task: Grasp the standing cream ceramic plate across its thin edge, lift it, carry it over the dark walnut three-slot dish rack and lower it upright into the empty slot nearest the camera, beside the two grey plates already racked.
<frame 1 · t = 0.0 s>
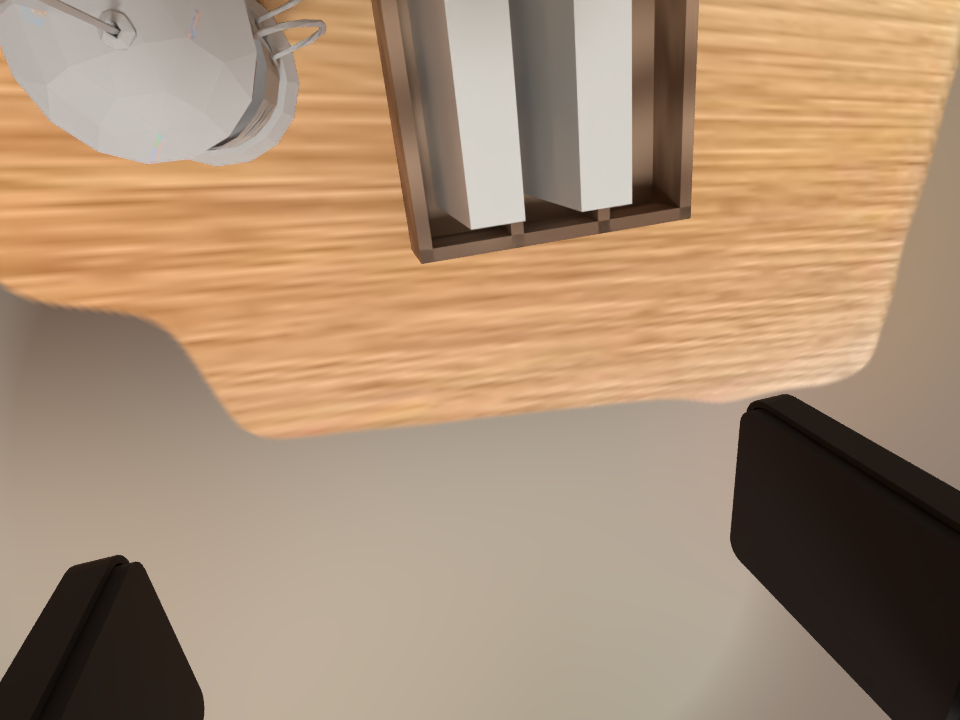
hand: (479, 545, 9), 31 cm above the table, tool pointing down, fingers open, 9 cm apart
racked plate mid: (564, 85, 31), in the rack, point 6 cm above the table
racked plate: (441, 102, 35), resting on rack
rack: (528, 92, 36), on the table
french press: (223, 69, 32), on the table
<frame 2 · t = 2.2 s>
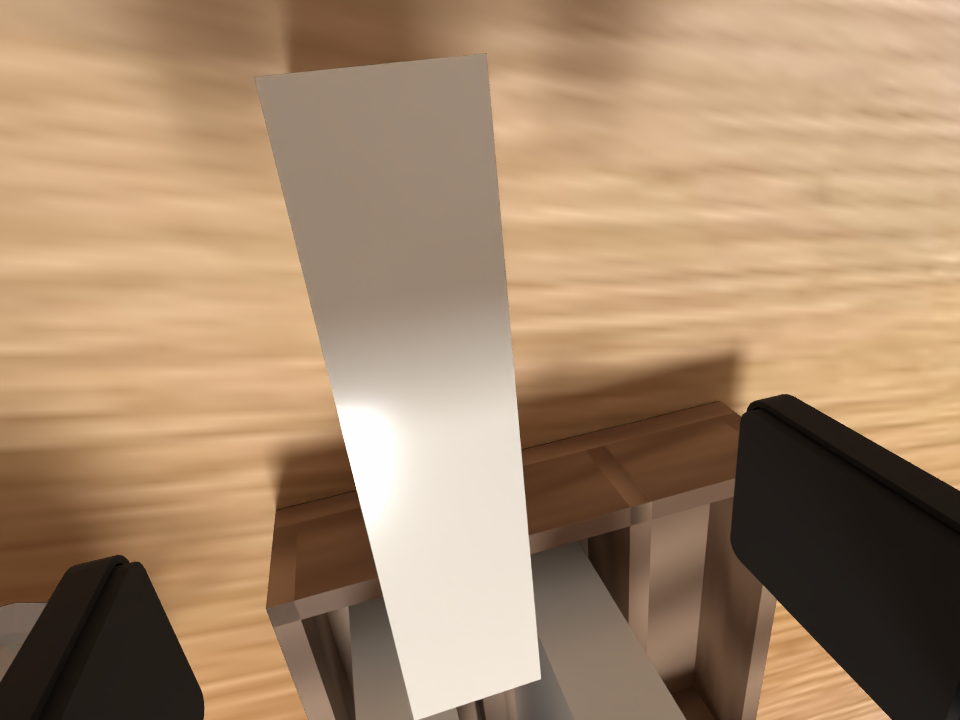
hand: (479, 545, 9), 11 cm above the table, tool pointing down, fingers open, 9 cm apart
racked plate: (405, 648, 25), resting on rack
rack: (530, 610, 26), on the table
plate: (380, 295, 18), on the table
french press: (73, 686, 21), on the table
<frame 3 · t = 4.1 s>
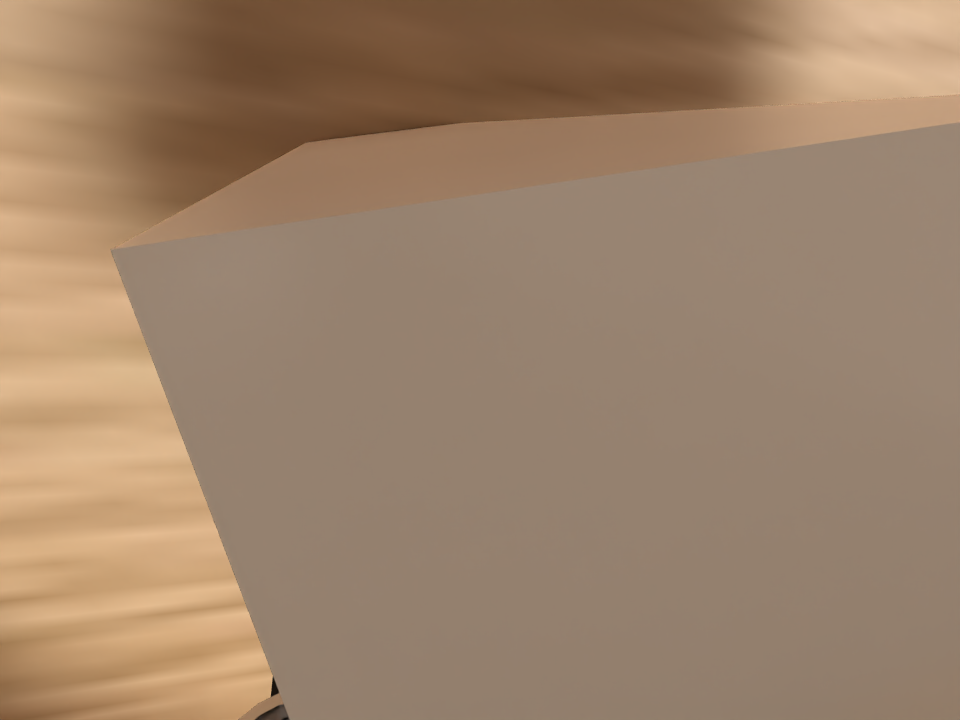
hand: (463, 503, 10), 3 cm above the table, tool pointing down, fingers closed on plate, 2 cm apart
plate: (432, 417, 13), on the table, touching gripper
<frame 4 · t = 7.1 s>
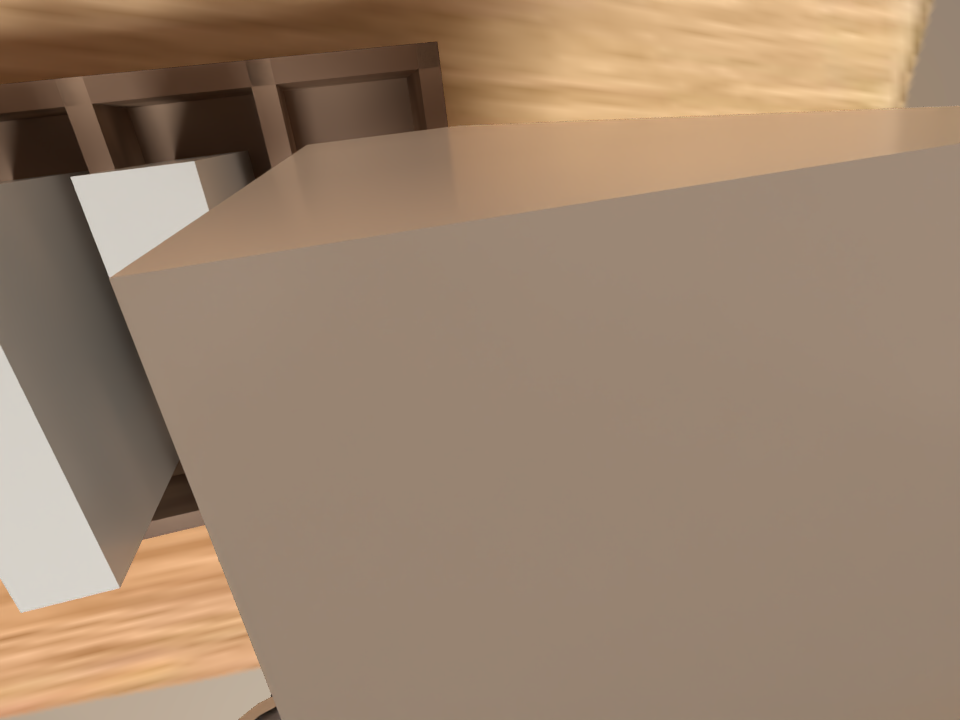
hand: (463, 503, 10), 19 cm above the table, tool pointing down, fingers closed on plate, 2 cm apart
racked plate mid: (235, 332, 20), in the rack, point 6 cm above the table
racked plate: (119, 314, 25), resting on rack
rack: (255, 291, 26), on the table
plate: (433, 420, 13), point 16 cm above the table, touching gripper
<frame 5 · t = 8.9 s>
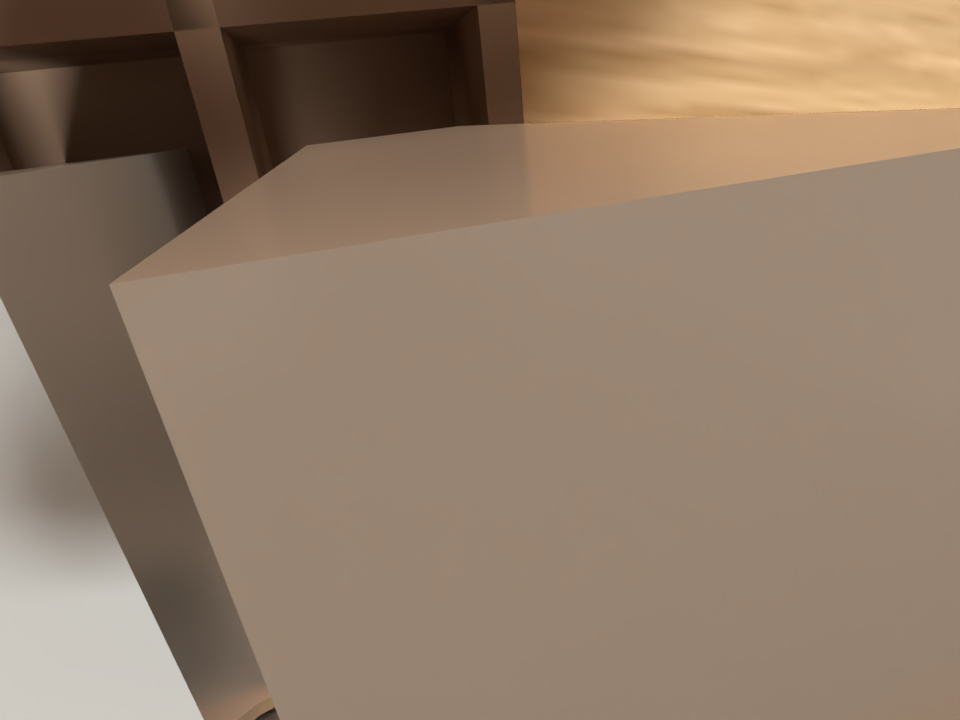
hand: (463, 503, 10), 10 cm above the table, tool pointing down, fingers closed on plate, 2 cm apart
racked plate mid: (156, 467, 12), in the rack, point 6 cm above the table
rack: (209, 361, 17), on the table
plate: (433, 421, 13), point 6 cm above the table, touching gripper
when the fingers open (6 cm above the table, at t = 10.2 s): plate drops 2 cm, resting on rack.
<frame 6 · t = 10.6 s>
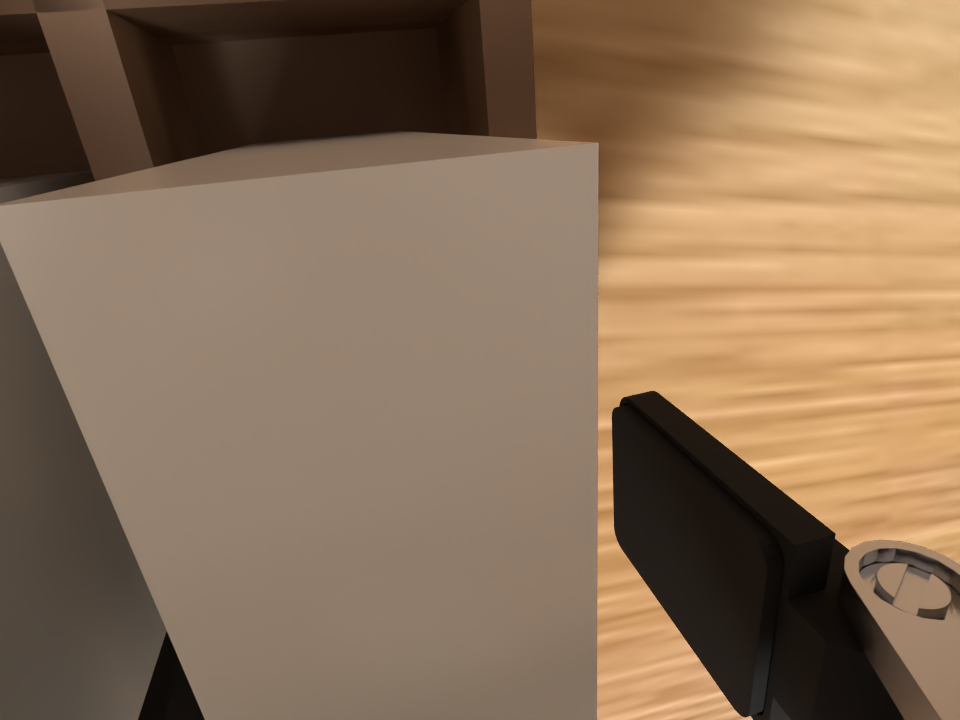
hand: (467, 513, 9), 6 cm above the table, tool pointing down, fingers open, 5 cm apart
racked plate mid: (20, 616, 8), in the rack, point 6 cm above the table
rack: (138, 427, 14), on the table
plate: (371, 394, 14), point 1 cm above the table, touching rack
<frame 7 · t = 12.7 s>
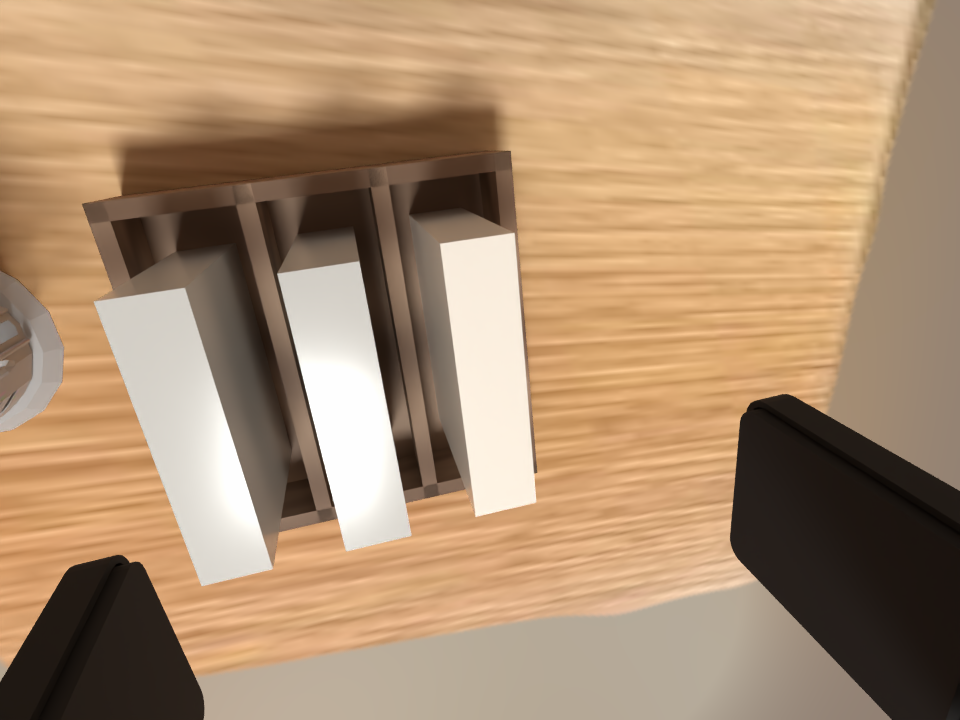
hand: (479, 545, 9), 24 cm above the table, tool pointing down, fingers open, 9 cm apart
racked plate mid: (350, 372, 26), in the rack, point 6 cm above the table
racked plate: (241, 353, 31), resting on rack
rack: (348, 334, 32), on the table
plate: (449, 319, 32), point 1 cm above the table, touching rack
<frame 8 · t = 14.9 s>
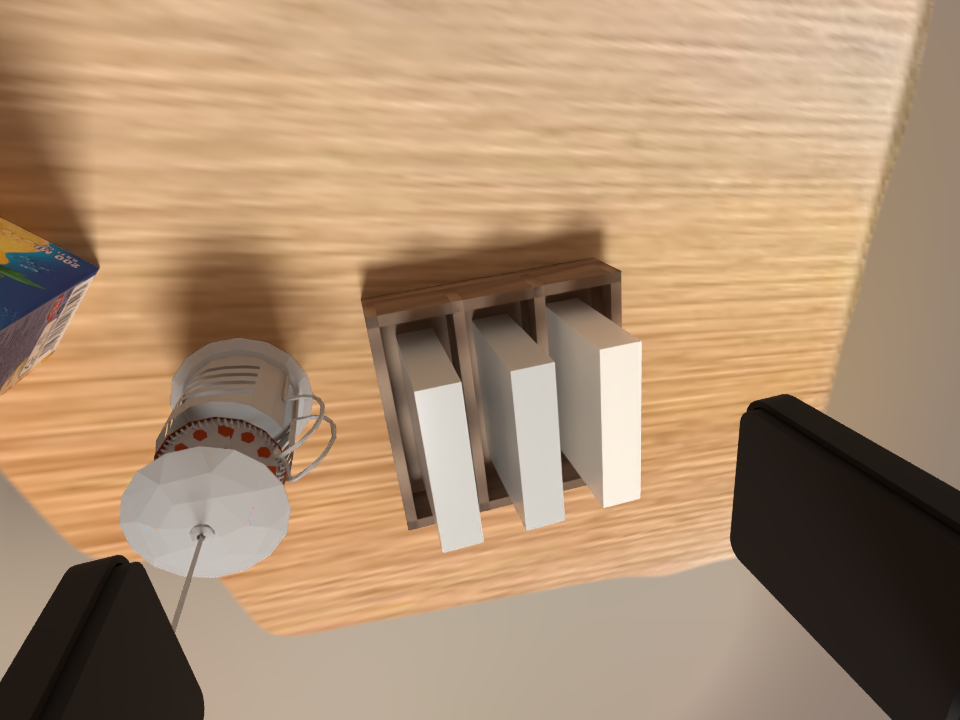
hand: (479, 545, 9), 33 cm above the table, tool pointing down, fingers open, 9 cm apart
racked plate mid: (516, 415, 40), in the rack, point 6 cm above the table
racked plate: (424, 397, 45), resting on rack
rack: (493, 382, 46), on the table
plate: (563, 370, 46), point 1 cm above the table, touching rack
french press: (255, 394, 41), on the table
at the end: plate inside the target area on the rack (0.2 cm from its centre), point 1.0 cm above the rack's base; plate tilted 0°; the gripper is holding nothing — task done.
